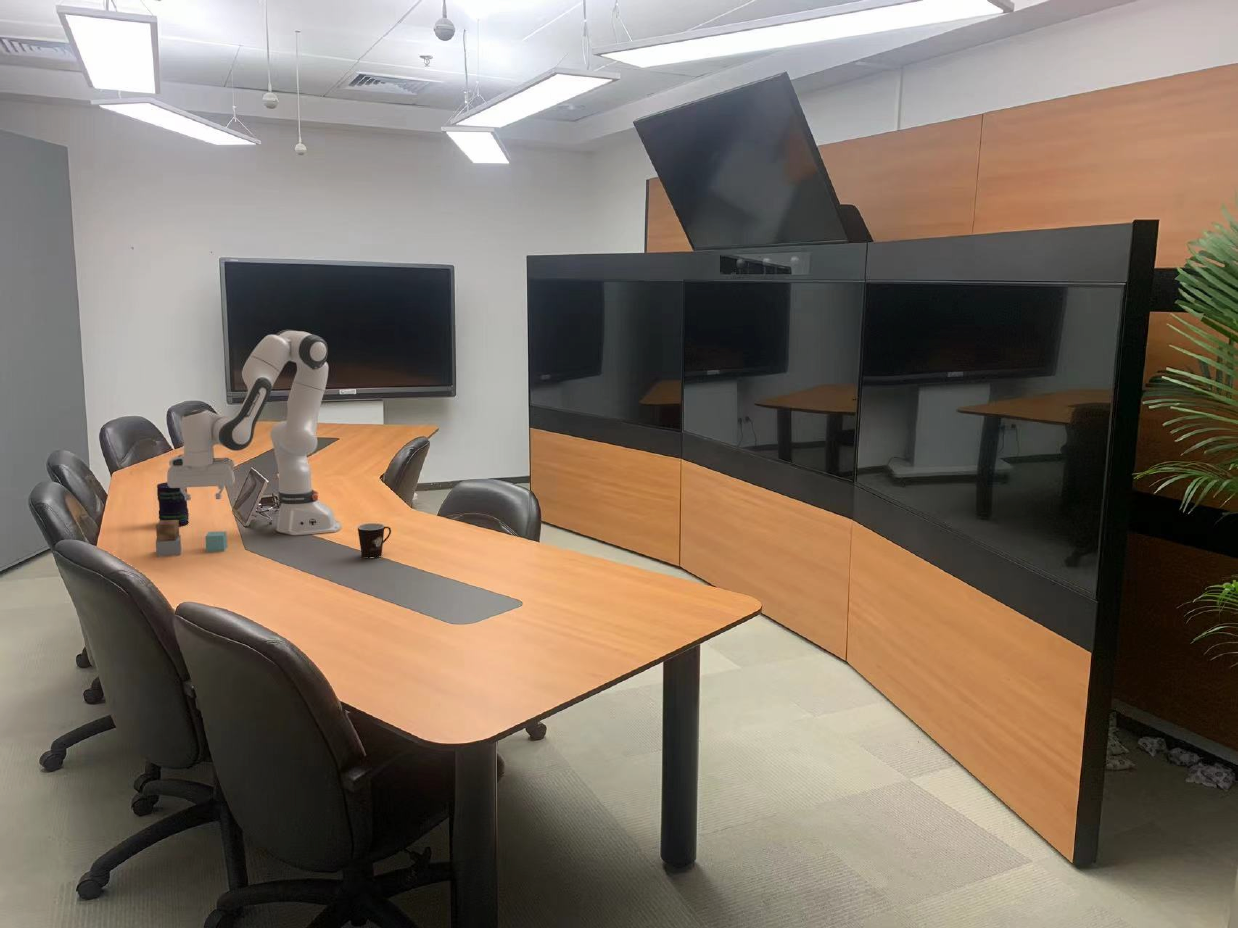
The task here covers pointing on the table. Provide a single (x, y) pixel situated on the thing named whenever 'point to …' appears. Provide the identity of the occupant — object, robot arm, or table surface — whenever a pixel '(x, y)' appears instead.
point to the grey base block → (168, 547)
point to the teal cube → (216, 541)
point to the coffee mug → (372, 539)
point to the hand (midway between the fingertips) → (203, 499)
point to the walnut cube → (167, 530)
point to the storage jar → (172, 504)
